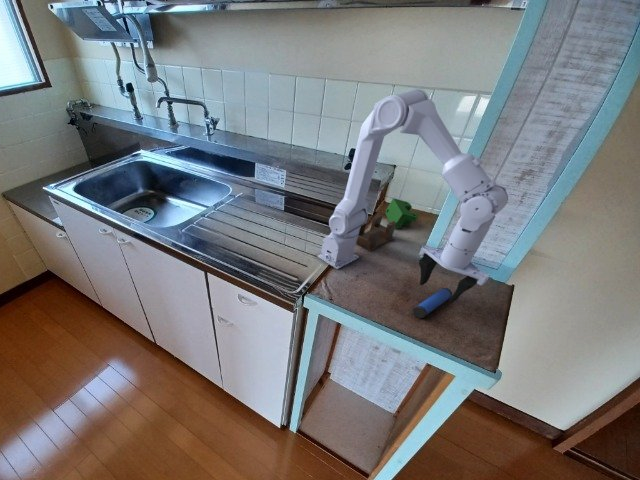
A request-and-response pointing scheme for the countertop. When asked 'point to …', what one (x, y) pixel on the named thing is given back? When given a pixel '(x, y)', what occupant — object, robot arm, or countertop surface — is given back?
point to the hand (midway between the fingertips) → (437, 291)
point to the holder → (375, 234)
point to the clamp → (400, 213)
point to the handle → (432, 302)
